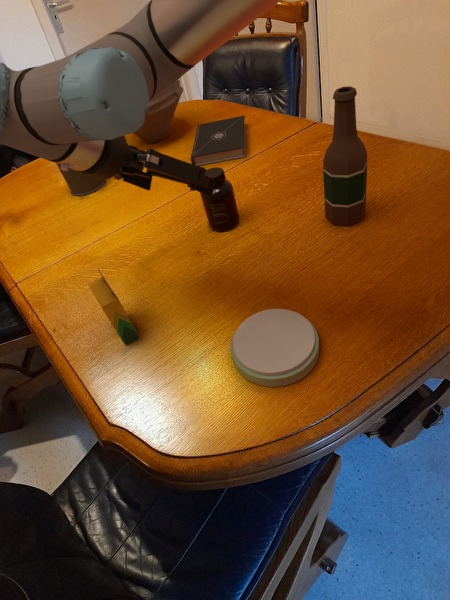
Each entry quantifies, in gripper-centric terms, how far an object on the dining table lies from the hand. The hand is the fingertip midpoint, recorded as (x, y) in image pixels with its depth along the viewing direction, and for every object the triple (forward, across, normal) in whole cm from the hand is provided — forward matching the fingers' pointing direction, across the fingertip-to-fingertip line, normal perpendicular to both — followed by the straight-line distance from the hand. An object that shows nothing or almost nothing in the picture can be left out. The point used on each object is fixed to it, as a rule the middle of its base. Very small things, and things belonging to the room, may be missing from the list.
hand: (179, 185), depth 72 cm
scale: (-2, +24, -24) cm, 34 cm away
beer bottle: (+23, +24, +2) cm, 34 cm away
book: (+43, -20, +21) cm, 52 cm away
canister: (+24, -50, +2) cm, 56 cm away
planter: (+46, -46, +24) cm, 69 cm away
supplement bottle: (+18, 0, -4) cm, 19 cm away
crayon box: (-5, -2, -27) cm, 27 cm away
